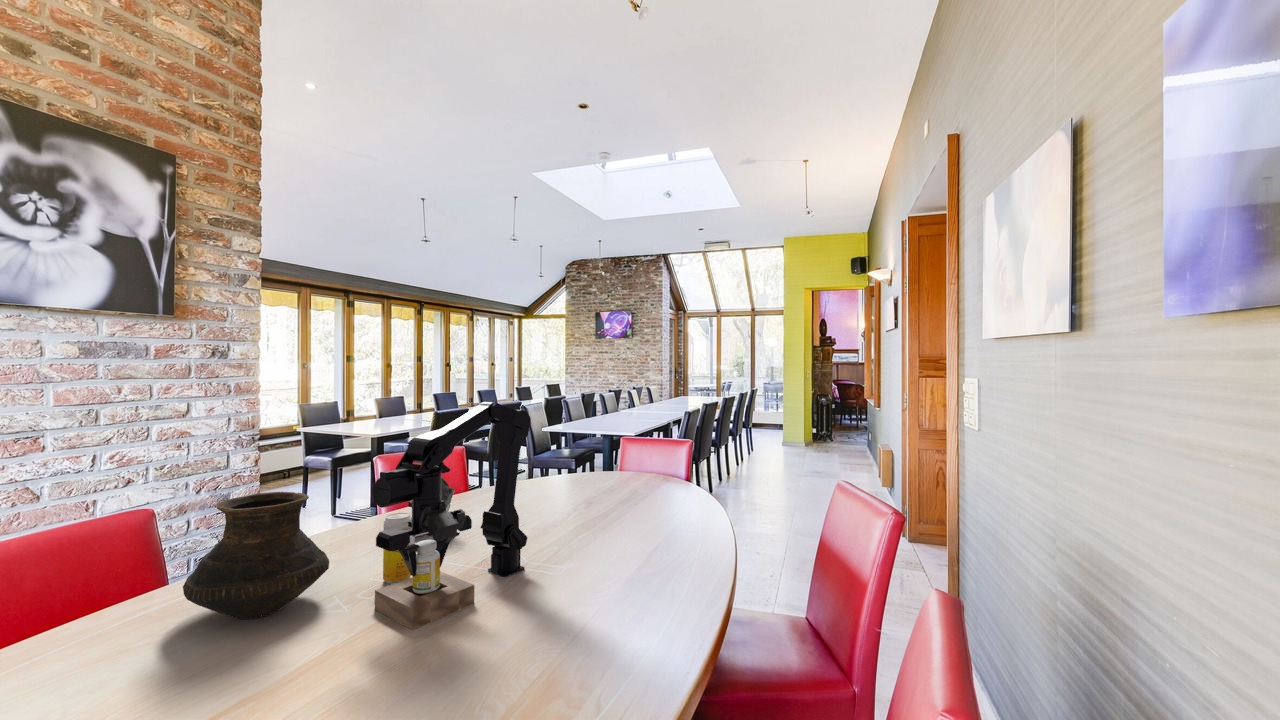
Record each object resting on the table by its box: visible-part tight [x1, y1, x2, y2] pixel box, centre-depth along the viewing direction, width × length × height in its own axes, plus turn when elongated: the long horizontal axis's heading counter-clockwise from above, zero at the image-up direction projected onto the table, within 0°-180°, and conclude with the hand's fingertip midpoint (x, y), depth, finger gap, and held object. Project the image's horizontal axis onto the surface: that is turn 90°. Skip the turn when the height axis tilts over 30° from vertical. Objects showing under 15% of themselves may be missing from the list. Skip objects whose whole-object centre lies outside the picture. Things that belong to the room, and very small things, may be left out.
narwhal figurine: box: [441, 476, 456, 512], centre depth 158 cm, size 14×15×18 cm
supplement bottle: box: [412, 539, 441, 594], centre depth 111 cm, size 5×5×10 cm
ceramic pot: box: [182, 491, 330, 620], centre depth 109 cm, size 24×24×22 cm
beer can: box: [382, 512, 412, 585], centre depth 125 cm, size 6×6×15 cm
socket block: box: [374, 570, 475, 631], centre depth 111 cm, size 14×14×4 cm
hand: (426, 571), depth 111 cm, fingers closed on supplement bottle, 5 cm apart
